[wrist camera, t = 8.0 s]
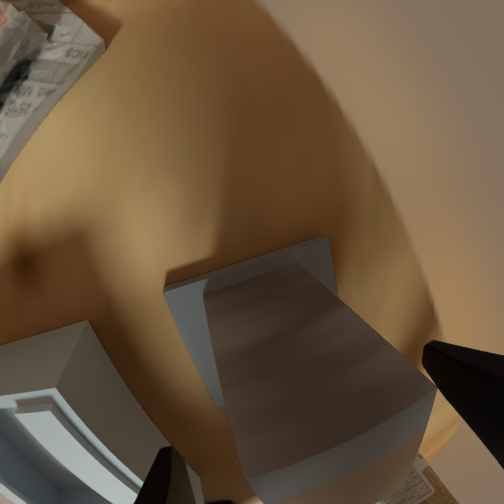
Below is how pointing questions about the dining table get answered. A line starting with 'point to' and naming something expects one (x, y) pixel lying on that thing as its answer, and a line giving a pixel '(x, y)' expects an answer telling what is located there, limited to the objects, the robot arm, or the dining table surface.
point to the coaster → (192, 290)
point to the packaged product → (38, 66)
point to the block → (314, 392)
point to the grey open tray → (72, 424)
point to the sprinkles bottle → (421, 487)
